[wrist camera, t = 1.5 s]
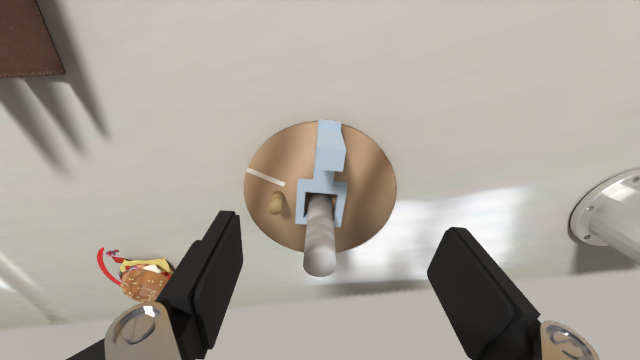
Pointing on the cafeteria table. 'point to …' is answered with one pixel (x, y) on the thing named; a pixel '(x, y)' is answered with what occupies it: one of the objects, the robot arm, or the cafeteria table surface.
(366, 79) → the cafeteria table surface
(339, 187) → the blue square ring handle
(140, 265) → the hamburger
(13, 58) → the letter holder
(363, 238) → the post base
